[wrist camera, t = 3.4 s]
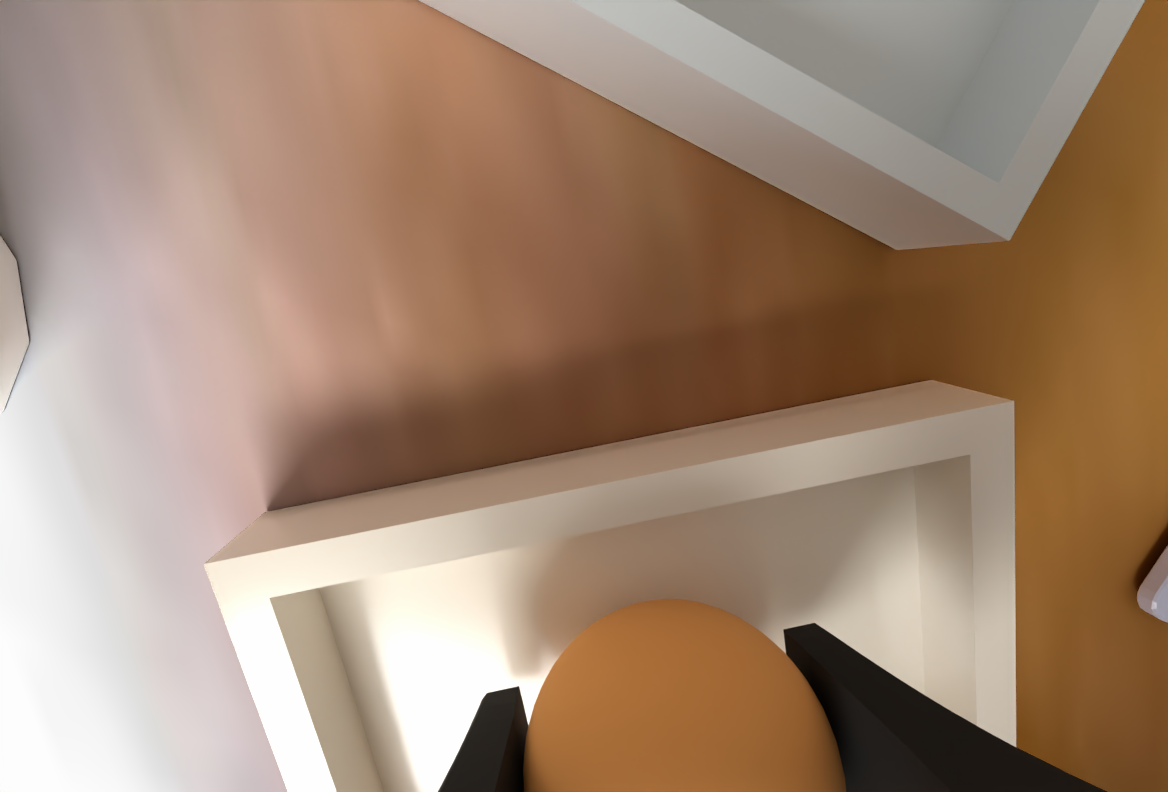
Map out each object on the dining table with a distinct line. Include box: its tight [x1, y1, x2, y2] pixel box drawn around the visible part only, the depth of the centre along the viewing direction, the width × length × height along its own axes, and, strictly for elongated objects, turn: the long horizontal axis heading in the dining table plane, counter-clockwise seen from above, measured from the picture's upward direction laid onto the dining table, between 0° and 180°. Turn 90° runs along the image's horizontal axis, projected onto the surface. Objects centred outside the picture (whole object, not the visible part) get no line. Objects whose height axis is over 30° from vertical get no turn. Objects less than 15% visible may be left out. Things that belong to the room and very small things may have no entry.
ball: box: [523, 599, 846, 792], centre depth 9 cm, size 5×5×5 cm
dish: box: [204, 380, 1016, 792], centre depth 11 cm, size 14×9×2 cm
